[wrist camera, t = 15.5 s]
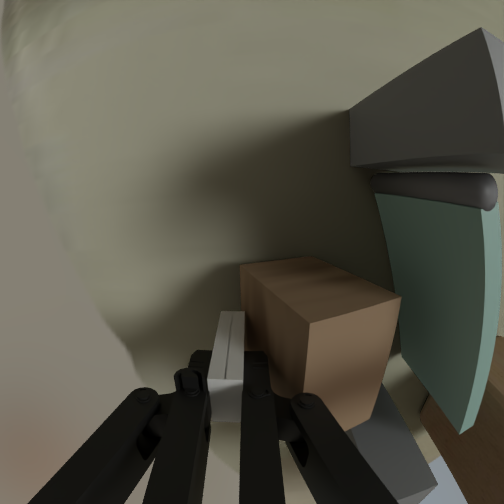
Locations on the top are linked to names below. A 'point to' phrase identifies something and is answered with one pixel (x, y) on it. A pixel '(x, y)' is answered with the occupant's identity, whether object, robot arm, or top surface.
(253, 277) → the brown rectangular block
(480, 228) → the gate
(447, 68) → the hinge post
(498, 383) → the wooden block
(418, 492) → the post
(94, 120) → the top surface
